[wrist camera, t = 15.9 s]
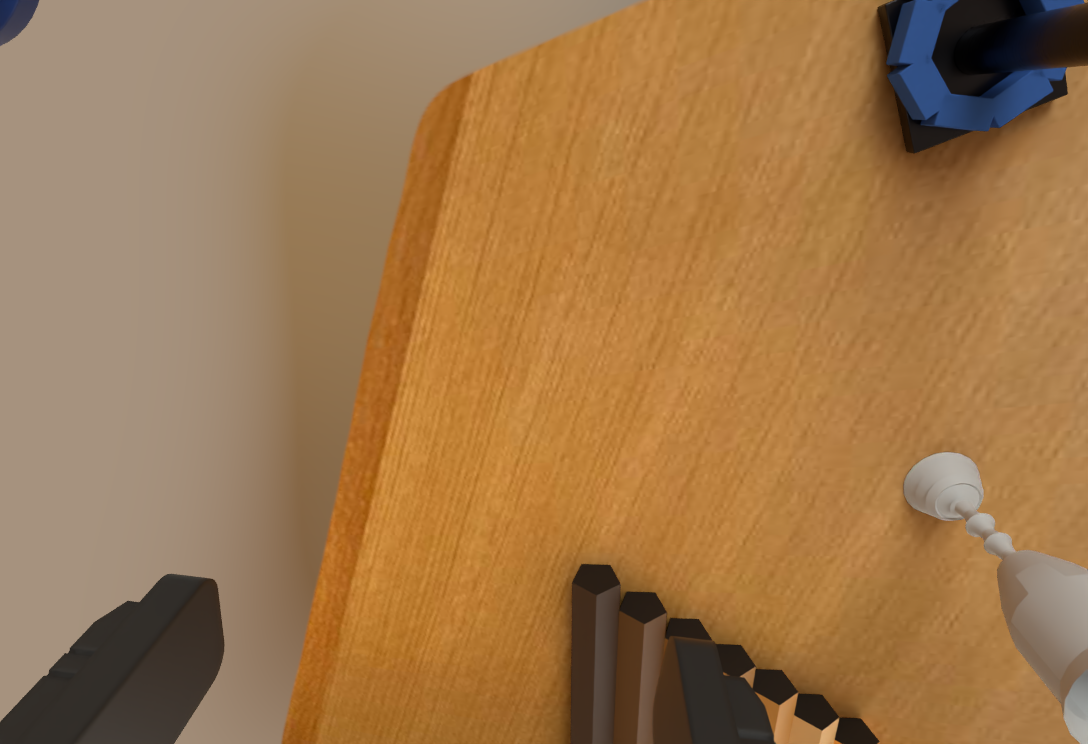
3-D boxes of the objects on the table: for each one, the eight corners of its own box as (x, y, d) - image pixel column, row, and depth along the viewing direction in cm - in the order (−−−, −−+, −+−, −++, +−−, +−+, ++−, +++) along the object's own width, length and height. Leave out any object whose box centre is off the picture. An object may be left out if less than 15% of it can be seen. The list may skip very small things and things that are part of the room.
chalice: (1011, 494, 45) (1259, 720, 28) (920, 542, 47) (1103, 779, 30) (963, 420, 43) (1198, 615, 27) (870, 473, 45) (1035, 685, 29)
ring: (870, 119, 36) (882, 120, 34) (918, -59, 32) (934, -67, 31) (1022, 135, 36) (1041, 137, 34) (1086, -41, 32) (1110, -49, 31)
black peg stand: (877, 7, 34) (1013, -40, 23) (1037, -63, 33) (1265, -149, 22) (906, 152, 37) (1041, 172, 26) (1055, 94, 36) (1267, 89, 24)
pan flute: (572, 564, 50) (570, 783, 59) (571, 594, 47) (569, 821, 56) (905, 575, 48) (848, 799, 58) (928, 607, 45) (863, 838, 55)
